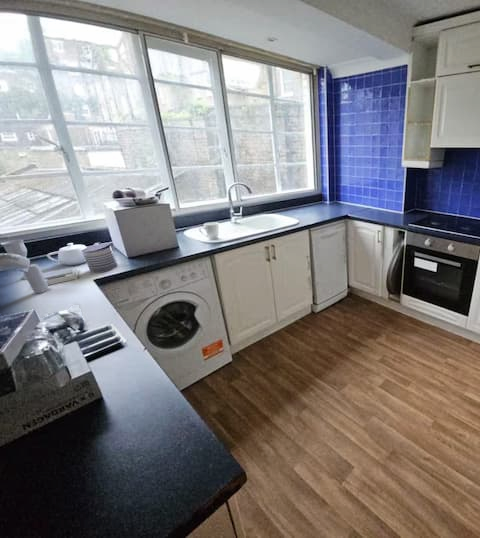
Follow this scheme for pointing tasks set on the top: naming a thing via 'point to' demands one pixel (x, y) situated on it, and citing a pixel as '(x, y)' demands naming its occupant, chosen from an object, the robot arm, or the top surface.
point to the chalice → (16, 248)
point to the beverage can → (36, 279)
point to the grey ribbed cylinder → (100, 258)
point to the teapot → (70, 254)
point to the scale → (60, 275)
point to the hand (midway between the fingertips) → (12, 271)
